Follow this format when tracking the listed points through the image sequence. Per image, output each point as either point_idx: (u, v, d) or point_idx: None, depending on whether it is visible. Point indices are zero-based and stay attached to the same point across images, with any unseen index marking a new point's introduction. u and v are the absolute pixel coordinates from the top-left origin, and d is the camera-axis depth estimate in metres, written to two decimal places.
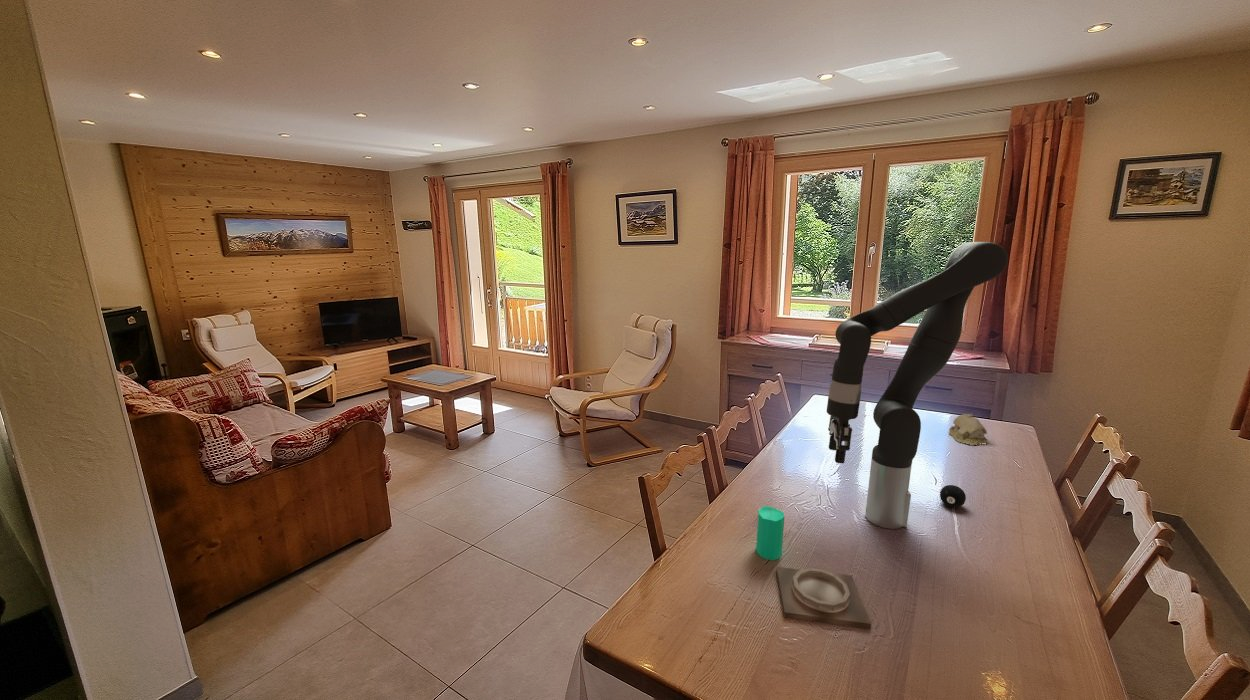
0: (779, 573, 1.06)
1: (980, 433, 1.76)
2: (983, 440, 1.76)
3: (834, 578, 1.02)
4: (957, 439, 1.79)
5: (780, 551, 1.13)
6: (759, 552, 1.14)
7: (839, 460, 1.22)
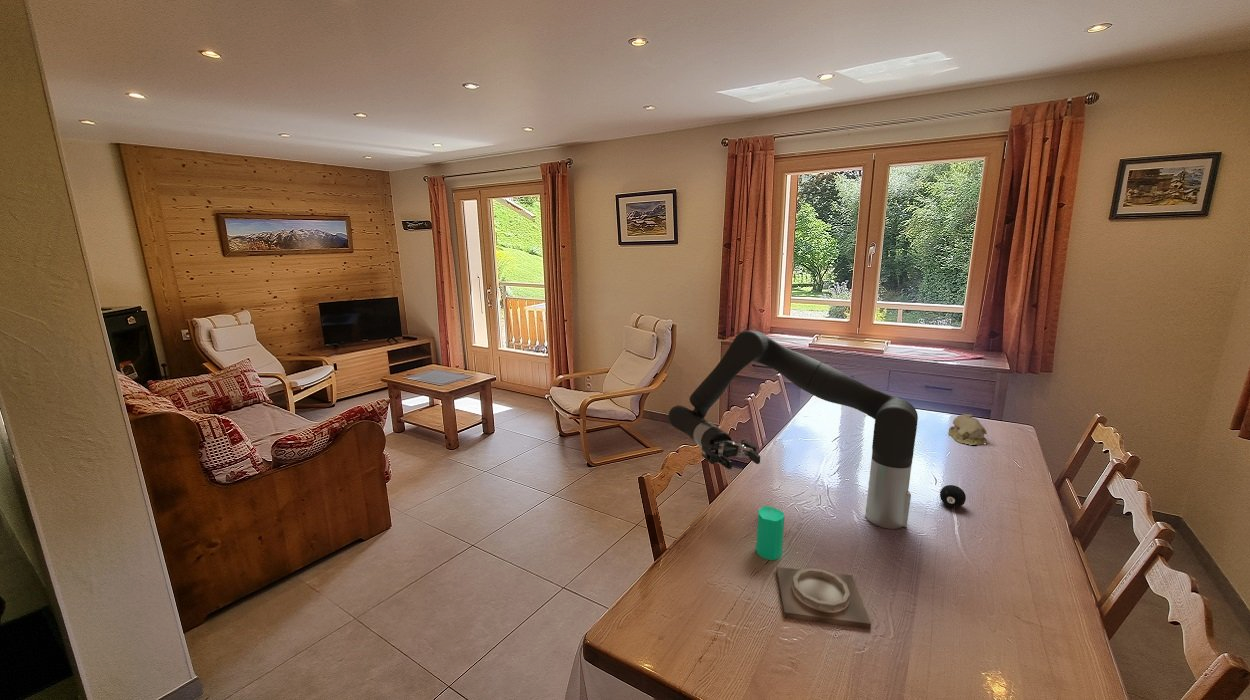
0: (779, 573, 1.06)
1: (980, 433, 1.76)
2: (983, 440, 1.76)
3: (834, 578, 1.02)
4: (957, 439, 1.79)
5: (780, 551, 1.13)
6: (759, 552, 1.14)
7: (725, 465, 1.21)
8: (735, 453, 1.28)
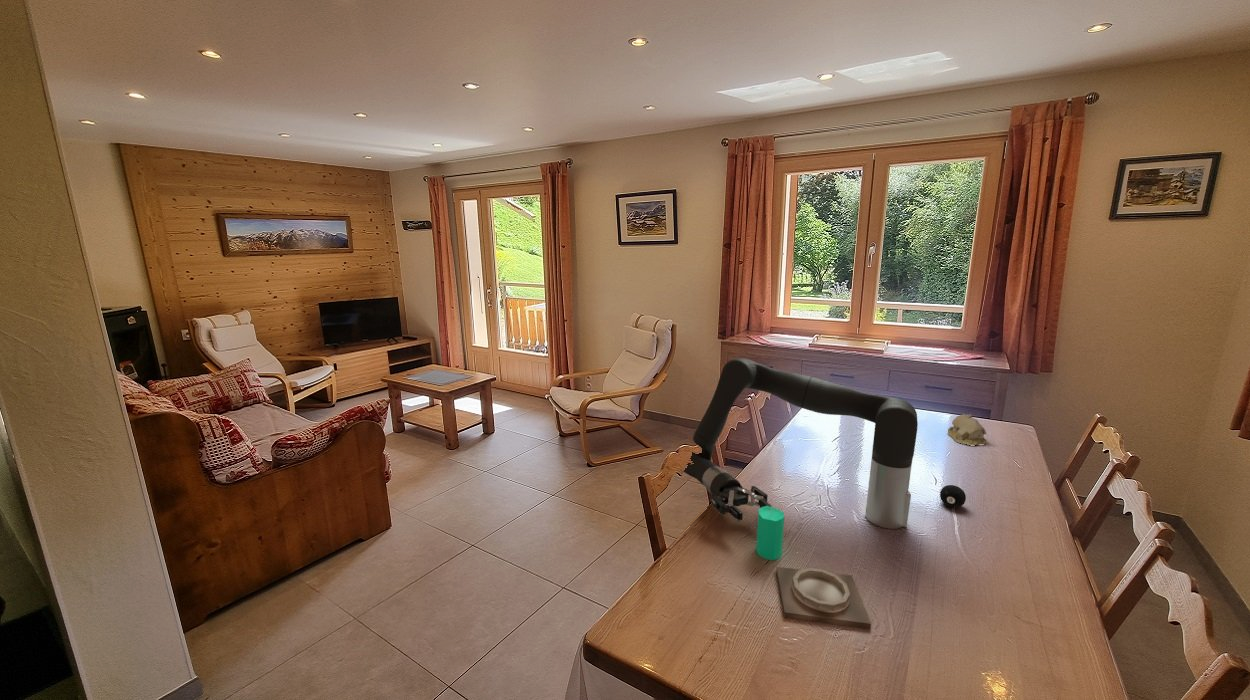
0: (779, 573, 1.06)
1: (979, 433, 1.76)
2: (982, 441, 1.76)
3: (834, 578, 1.02)
4: (956, 440, 1.78)
5: (780, 551, 1.13)
6: (759, 552, 1.14)
7: (735, 517, 1.18)
8: (745, 501, 1.25)
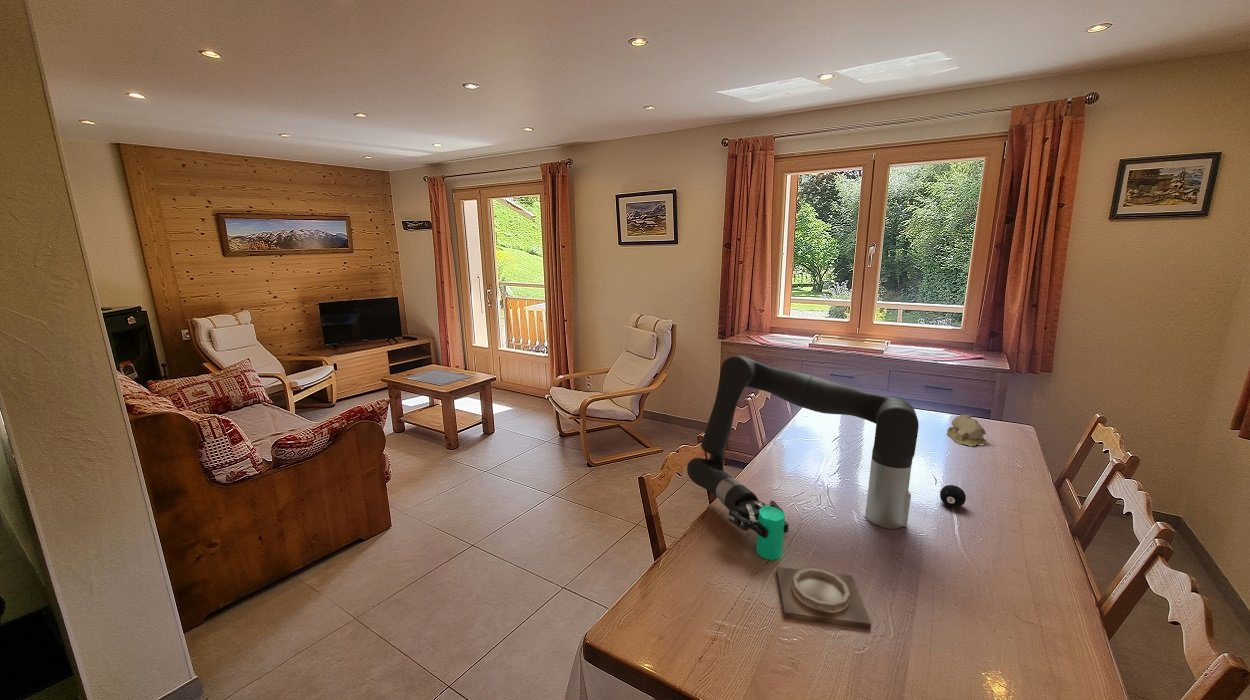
0: (779, 573, 1.06)
1: (979, 433, 1.76)
2: (982, 441, 1.75)
3: (834, 578, 1.02)
4: (956, 440, 1.78)
5: (780, 551, 1.13)
6: (759, 552, 1.14)
7: (760, 534, 1.11)
8: None
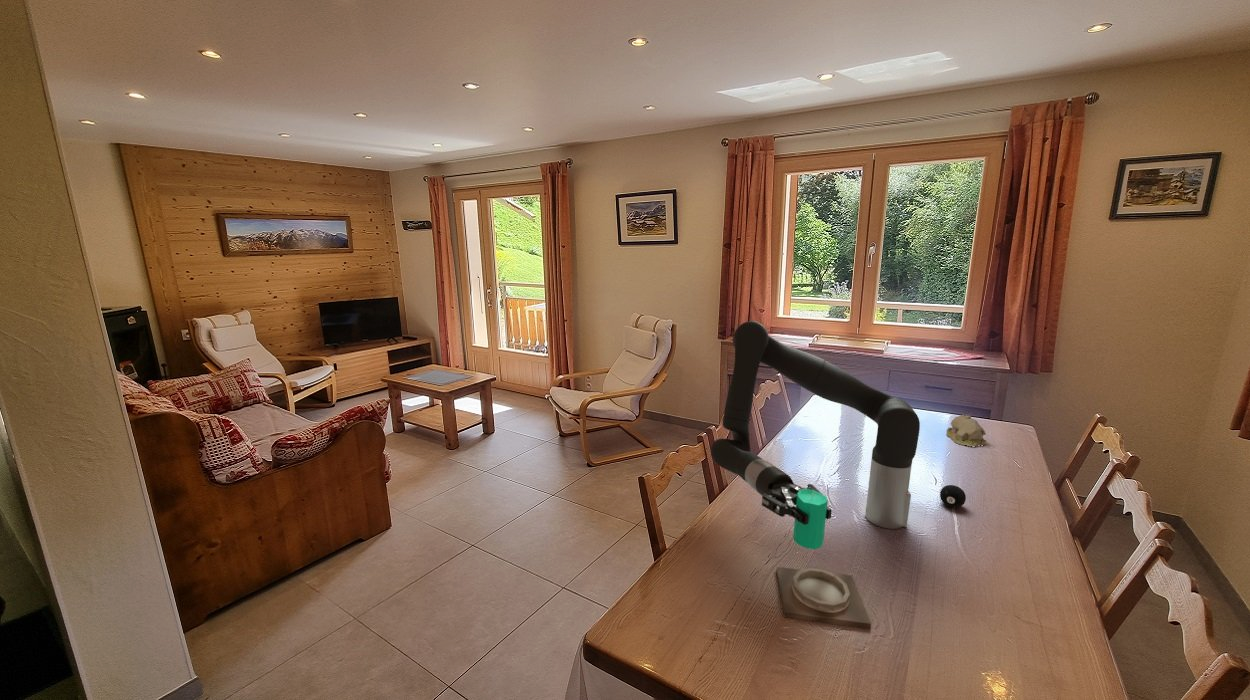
0: (779, 573, 1.06)
1: (979, 434, 1.75)
2: (982, 441, 1.75)
3: (834, 578, 1.02)
4: (956, 441, 1.77)
5: (821, 539, 1.00)
6: (797, 540, 1.01)
7: (799, 520, 0.98)
8: None
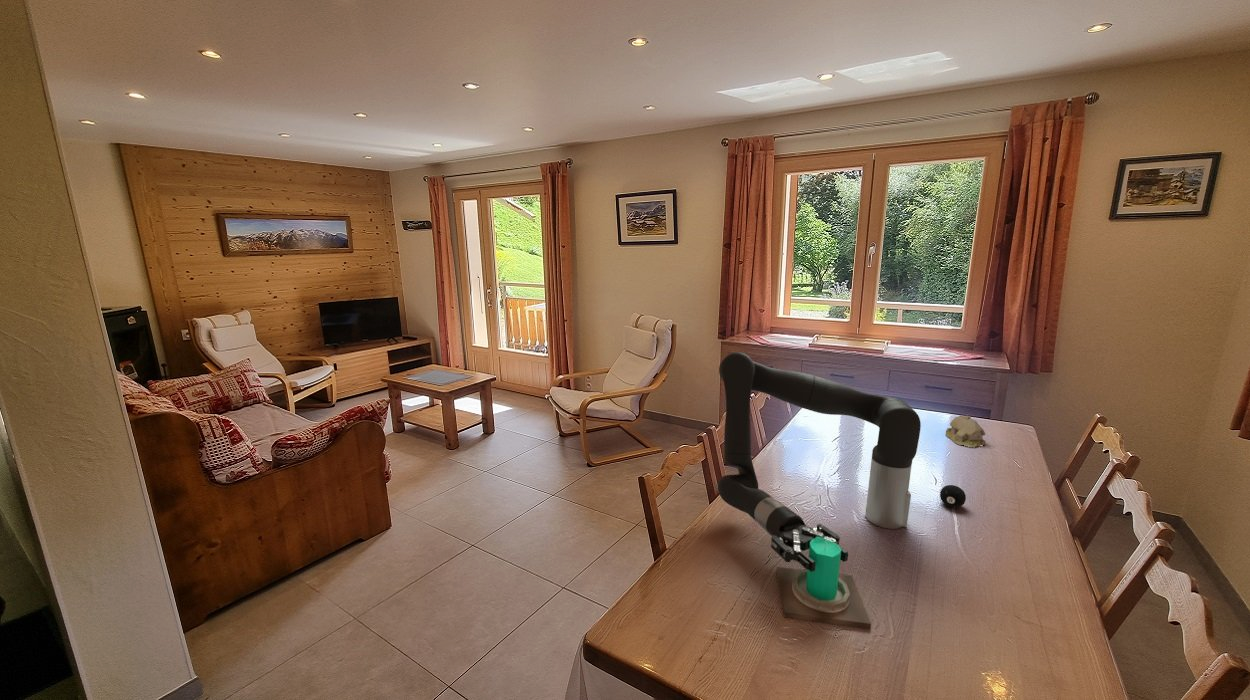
0: (779, 573, 1.06)
1: (978, 434, 1.75)
2: (982, 442, 1.75)
3: None
4: (956, 442, 1.77)
5: (836, 590, 0.98)
6: (811, 591, 0.99)
7: (806, 566, 0.96)
8: None
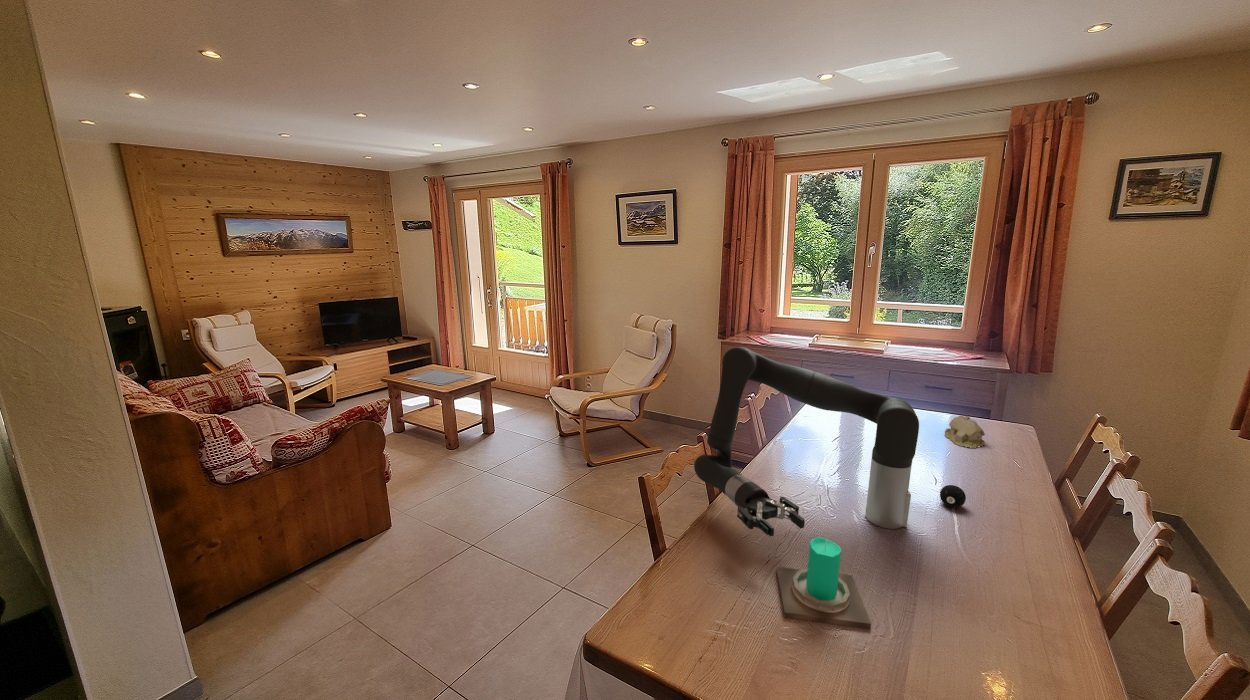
0: (779, 573, 1.06)
1: (978, 435, 1.74)
2: (981, 442, 1.74)
3: None
4: (956, 442, 1.76)
5: (836, 590, 0.98)
6: (811, 591, 0.99)
7: (766, 532, 1.07)
8: (775, 514, 1.14)
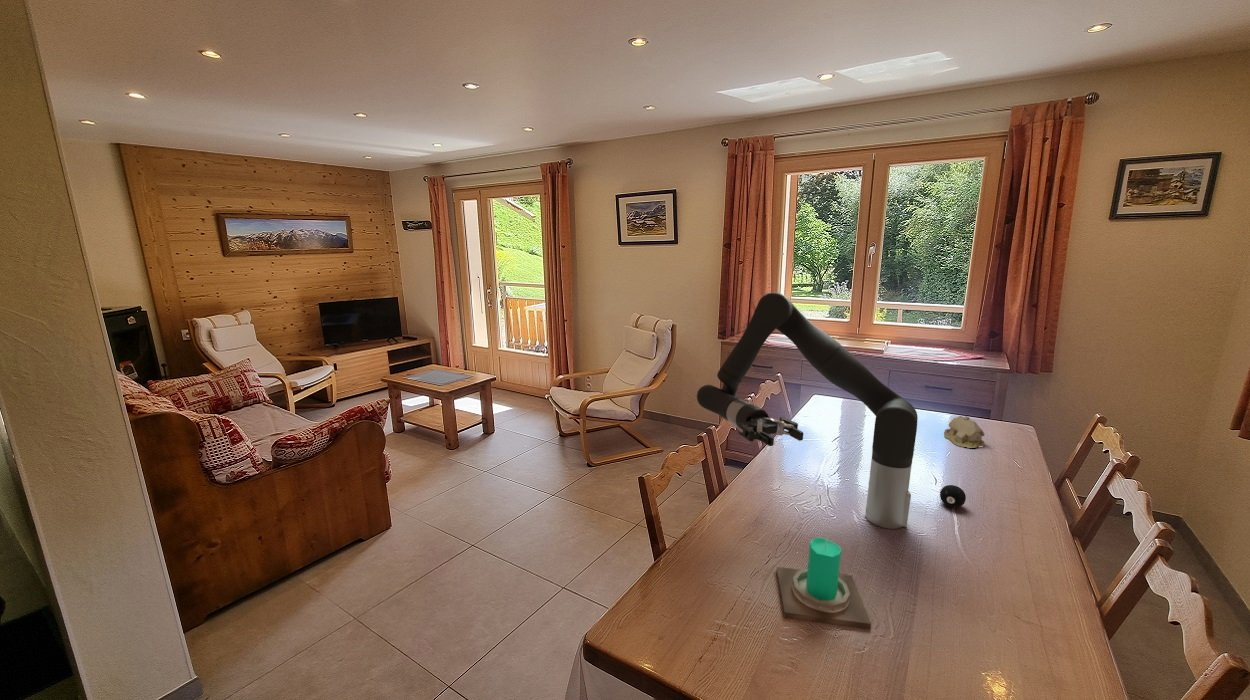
0: (779, 573, 1.06)
1: (978, 435, 1.74)
2: (981, 443, 1.74)
3: None
4: (956, 443, 1.76)
5: (836, 590, 0.98)
6: (811, 591, 0.99)
7: (766, 442, 1.11)
8: (775, 430, 1.18)
